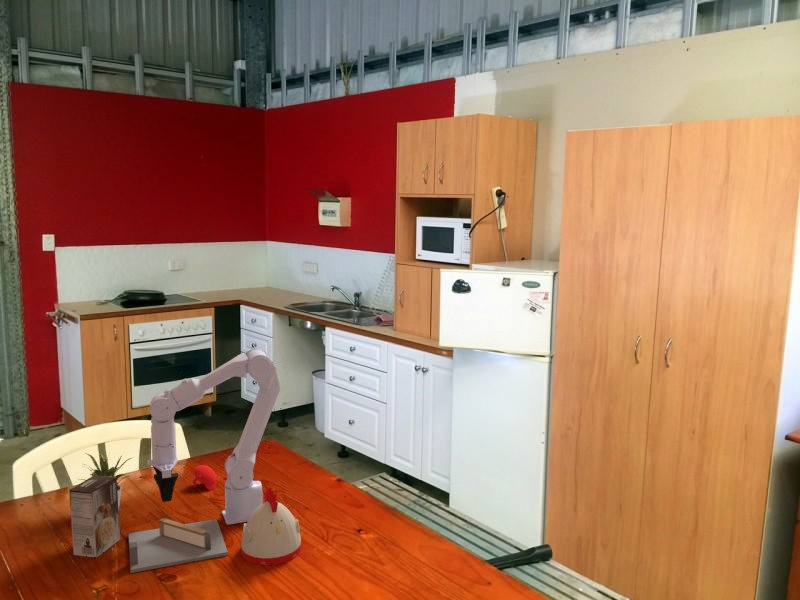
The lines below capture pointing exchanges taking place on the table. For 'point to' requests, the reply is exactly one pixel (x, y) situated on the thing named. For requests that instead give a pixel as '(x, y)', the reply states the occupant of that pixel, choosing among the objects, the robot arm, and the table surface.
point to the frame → (173, 547)
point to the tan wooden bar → (182, 532)
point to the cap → (205, 477)
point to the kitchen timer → (271, 533)
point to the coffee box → (94, 515)
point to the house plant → (107, 471)
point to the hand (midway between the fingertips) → (165, 494)
